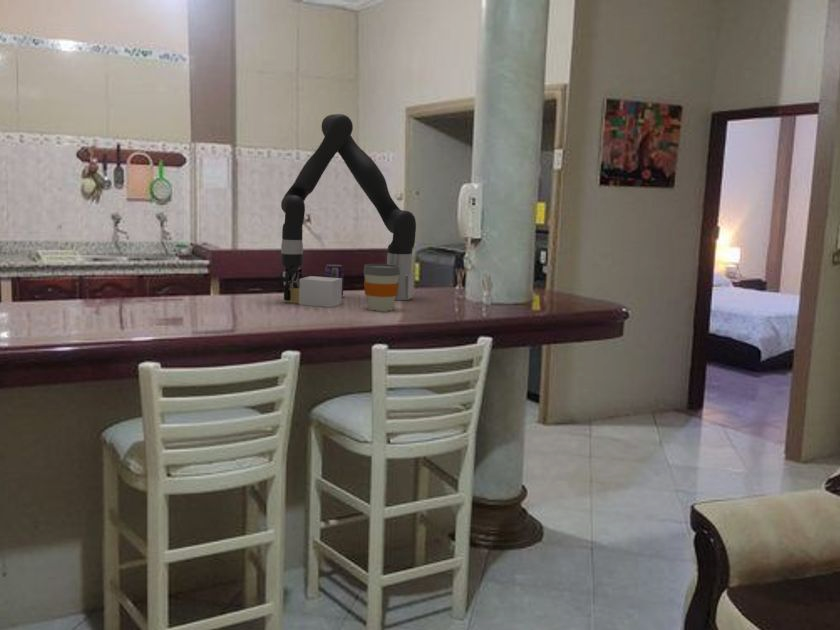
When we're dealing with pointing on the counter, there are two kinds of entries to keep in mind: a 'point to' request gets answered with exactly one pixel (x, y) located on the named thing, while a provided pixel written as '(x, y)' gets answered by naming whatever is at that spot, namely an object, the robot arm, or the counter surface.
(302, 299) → the light grey block
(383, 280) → the reusable coffee cup
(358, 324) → the counter surface
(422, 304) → the counter surface
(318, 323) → the counter surface
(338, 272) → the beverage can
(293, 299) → the yellow sponge block
